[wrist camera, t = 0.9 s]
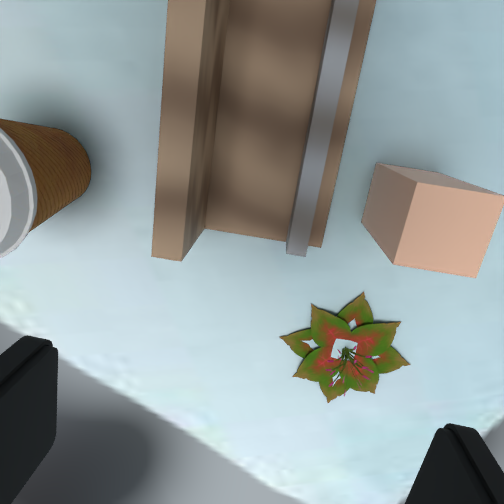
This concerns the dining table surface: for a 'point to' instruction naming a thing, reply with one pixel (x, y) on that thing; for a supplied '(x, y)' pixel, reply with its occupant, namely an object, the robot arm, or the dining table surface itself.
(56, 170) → the disposable coffee cup
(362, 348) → the lily flower
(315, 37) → the cleat board
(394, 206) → the terracotta block
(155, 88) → the dining table surface
